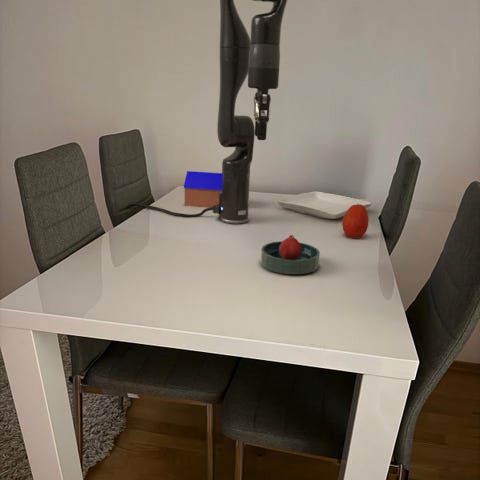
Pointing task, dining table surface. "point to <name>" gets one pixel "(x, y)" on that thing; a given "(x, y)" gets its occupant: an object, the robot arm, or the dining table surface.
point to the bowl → (299, 266)
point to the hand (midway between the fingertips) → (260, 138)
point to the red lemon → (290, 248)
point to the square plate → (321, 204)
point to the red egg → (355, 221)
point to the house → (202, 188)
